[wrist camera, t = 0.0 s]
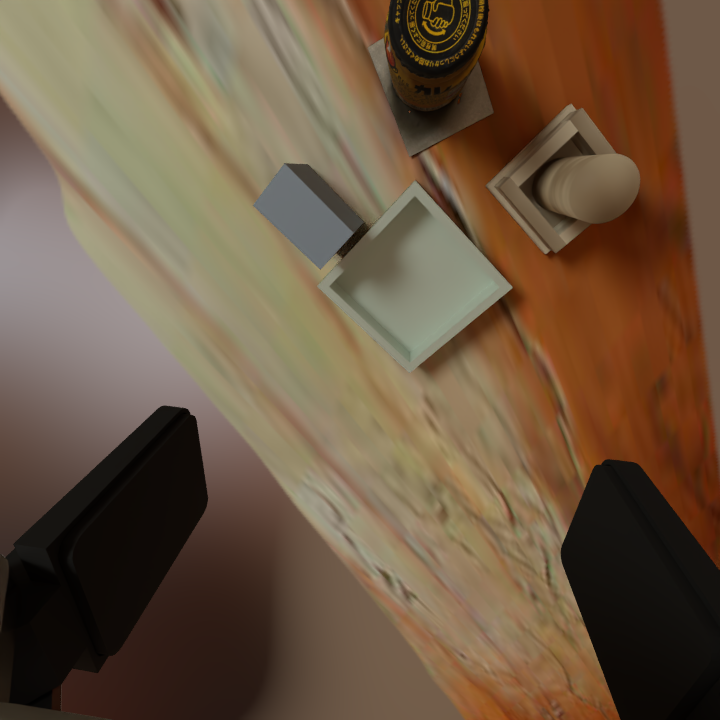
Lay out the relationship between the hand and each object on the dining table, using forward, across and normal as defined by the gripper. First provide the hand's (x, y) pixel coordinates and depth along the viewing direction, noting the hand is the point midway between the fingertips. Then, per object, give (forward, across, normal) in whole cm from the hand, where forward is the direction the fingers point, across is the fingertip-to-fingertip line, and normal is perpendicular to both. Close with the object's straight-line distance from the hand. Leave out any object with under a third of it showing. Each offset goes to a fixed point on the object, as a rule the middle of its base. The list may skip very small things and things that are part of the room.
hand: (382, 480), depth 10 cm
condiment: (+32, -1, -13) cm, 34 cm away
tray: (+31, -1, +3) cm, 31 cm away
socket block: (+31, -12, -6) cm, 34 cm away
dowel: (+30, -12, -6) cm, 33 cm away
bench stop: (+31, +8, -3) cm, 32 cm away
